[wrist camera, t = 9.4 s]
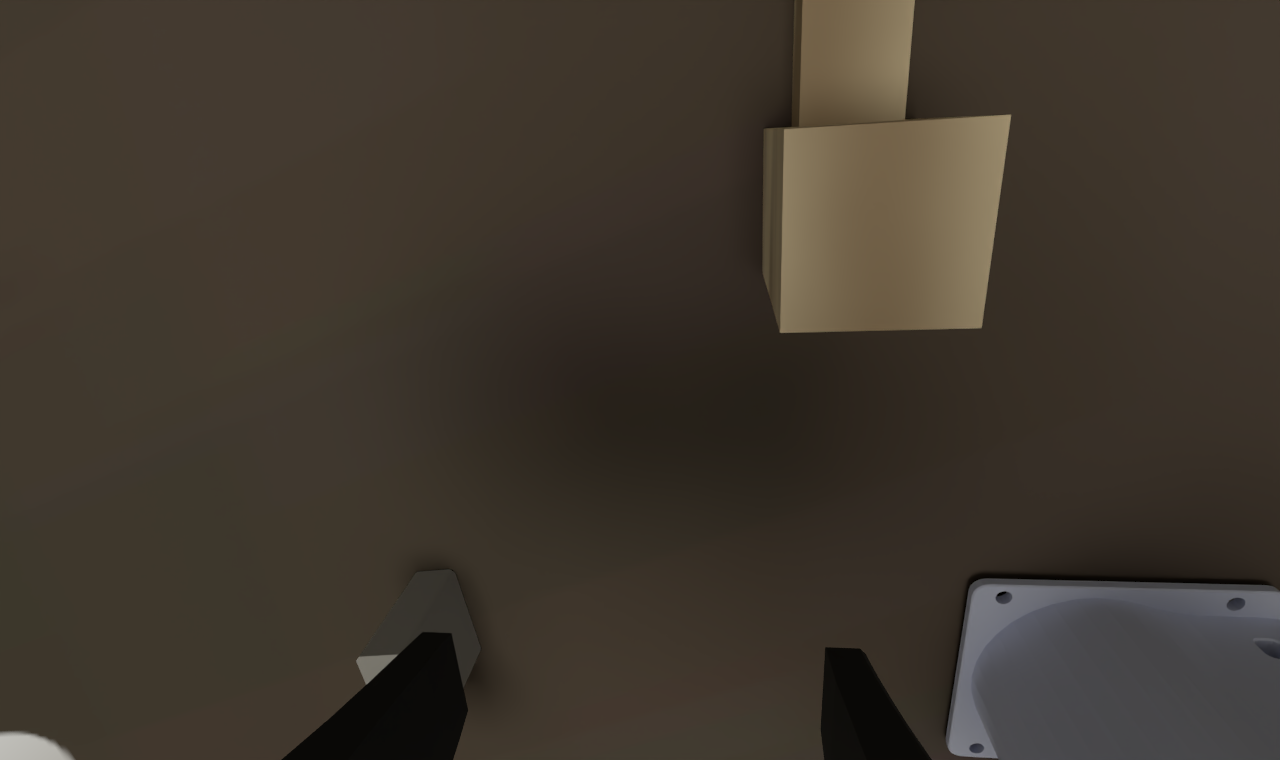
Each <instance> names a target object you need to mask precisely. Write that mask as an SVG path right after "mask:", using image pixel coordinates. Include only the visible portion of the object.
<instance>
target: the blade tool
mask: <svg viewBox="0 0 1280 760" xmlns="http://www.w3.org/2000/svg"><path fill="white" fill-rule="evenodd" d="M914 3H915V0H795V1H794V43H793V86H792V127H779V128H764V147H763V262H762V273H763V276H764V280H765V283H766V287H767V290H768V293H769V297H770V300H771V304H772V307H773V310H774V314H775V317H776V321H777V324H778V327H779V331H780V333H798V332H841V331H883V330H925V329H968V328H982V321H983V314H984V307H985V300H986V292H987V285H988V278H989V271H990V264H991V256H992V249H993V242H994V235H995V227H996V220H997V213H998V206H999V199H1000V191H1001V184H1002V177H1003V170H1004V162H1005V155H1006V148H1007V141H1008V134H1009V126H1010V119H1011V115H992V116H968V117H944V118H920V119H905V112H906V100H907V88H908V76H909V64H910V52H911V40H912V27H913V15H914Z"/></svg>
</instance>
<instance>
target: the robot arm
mask: <svg viewBox="0 0 1280 760" xmlns="http://www.w3.org/2000/svg"><path fill="white" fill-rule="evenodd" d="M1004 591H1006V593H1005V594H1004V595H1002V596H996V595H997V594H998V593H1000V592H1004ZM1233 598H1234V599H1233ZM1231 599H1233V600H1232V601H1230V602H1228V601H1229V600H1231ZM467 712H468V708H467V703H466V698H465V694H464V689H463V684H462V680H461V675H460V670H459V665H458V661H457V656H456V651H455V647H454V642H453V637H452V633H438V632H422V633H421V634H420V635H419V636H418V637H417V638H415V639H414V640H413V641H412V642H411V643H410V644H409V645H408V646H407V647H406V648H405V649H404V650H403V651H402V652H401V653H399V654H398V655H397V656H396V657H395V658H394V659H393V660H392V661H391V662H390V663H389V664H388V665H387V666H386V667H385V668H384V669H383V670H381V671H380V672H379V673H378V674H377V675H376V676H375V677H374V678H373V679H372V680H371V681H370V682H369V683H368V684H367V685H366V686H365V687H363V688H362V689H361V690H360V691H359V692H358V693H357V694H356V695H355V696H354V697H353V698H352V699H350V700H349V701H348V702H347V703H346V704H345V705H344V706H343V707H342V708H341V709H340V710H338V711H337V712H336V713H335V714H334V715H333V716H332V717H331V718H330V719H329V720H327V721H326V722H325V723H324V724H323V725H322V726H320V727H319V728H318V729H317V730H316V731H315V732H313V733H312V734H311V735H310V736H309V737H308V738H306V739H305V740H304V741H303V742H302V743H300V744H299V745H298V746H297V747H296V748H295V749H293V750H292V751H291V752H290V753H289V754H288V755H286V756H285V757H284V758H283V759H282V760H453V758H454V755H455V752H456V749H457V745H458V742H459V739H460V736H461V732H462V729H463V725H464V722H465V719H466V715H467ZM821 736H822V744H823V752H824V760H931V758H930V757H929V755H928V754H927V752H926V751H925V749H924V748H923V747H922V745H921V744H920V742H919V741H918V739H917V738H916V736H915V735H914V733H913V732H912V731H911V729H910V728H909V726H908V725H907V723H906V721H905V720H904V718H903V717H902V715H901V714H900V712H899V711H898V709H897V707H896V706H895V704H894V703H893V701H892V699H891V698H890V696H889V695H888V693H887V691H886V690H885V688H884V686H883V685H882V683H881V681H880V679H879V678H878V676H877V674H876V672H875V671H874V669H873V667H872V665H871V663H870V662H869V660H868V658H867V656H866V654H865V653H864V652H863V651H862V650H861V649H854V648H828V647H825V664H824V681H823V699H822V716H821ZM975 743H976V744H975ZM946 744H947V746H948V749H949V750H950V752H951V753H953V754H955V755H958V756H967V757H985V758H998V759H999V760H1280V591H1279V590H1278V589H1277V588H1275V587H1273V586H1269V585H1239V584H1198V583H1156V582H1115V581H1073V580H1032V579H990V578H985V579H979V580H977V581H975V582H974V583H973V584H972V585H970V588H969V591H968V597H967V604H966V610H965V616H964V623H963V629H962V636H961V642H960V649H959V655H958V662H957V668H956V674H955V681H954V687H953V694H952V700H951V707H950V713H949V720H948V726H947V732H946Z"/></svg>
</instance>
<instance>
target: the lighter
mask: <svg viewBox="0 0 1280 760" xmlns="http://www.w3.org/2000/svg"><path fill="white" fill-rule="evenodd" d="M422 632H438V633H452V637H453V642H454V647H455V651H456V656H457V661H458V665H459V670H460V675H461V680H462V684H463V688H464V686H465V684H466V682H467V679H468V677H469V675H470V673H471V671H472V668H473V666H474V664H475V662H476V659H477V657H478V655H479V653H480V651H481V647H480V644H479V641H478V638H477V635H476V632H475V629H474V626H473V623H472V620H471V617H470V615H469V612H468V609H467V606H466V603H465V600H464V597H463V594H462V591H461V588H460V585H459V582H458V579H457V576H456V574H455V572H454V571H452V570H450V569H446V570H433V571H421V572H416V573H415V575H414V576H413V578H412V579H411V581H410V582H409V584H408V585H407V587H406V588H405V590H404V591H403V593H402V594H401V596H400V597H399V598H398V600H397V601H396V603H395V604H394V606H393V607H392V609H391V610H390V612H389V613H388V615H387V616H386V618H385V619H384V621H383V622H382V624H381V625H380V627H379V628H378V630H377V631H376V632H375V634H374V635H373V637H372V638H371V640H370V641H369V643H368V644H367V646H366V647H365V649H364V650H363V652H362V653H361V655H360V656H359V658H358V659H357V661H356V662H357V664H358V667H359V669H360V671H361V674H362V676H363V678H364V681H365V683H366V685H367V684H368V683H369V682H370V681H371V680H372V679H373V678H374V677H375V676H376V675H377V674H378V673H379V672H380V671H381V670H383V669H384V668H385V667H386V666H387V665H388V664H389V663H390V662H391V661H392V660H393V659H394V658H395V657H396V656H397V655H398V654H399V653H401V652H402V651H403V650H404V649H405V648H406V647H407V646H408V645H409V644H410V643H411V642H412V641H413V640H414V639H415V638H417V637H418V636H419V635H420V634H421V633H422Z"/></svg>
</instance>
